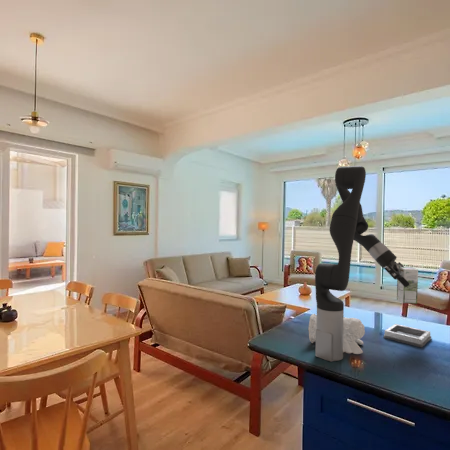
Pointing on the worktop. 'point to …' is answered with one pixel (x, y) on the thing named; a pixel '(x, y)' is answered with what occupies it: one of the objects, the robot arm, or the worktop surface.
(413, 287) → the syrup box
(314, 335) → the cherub figurine
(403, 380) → the worktop surface
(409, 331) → the tray
